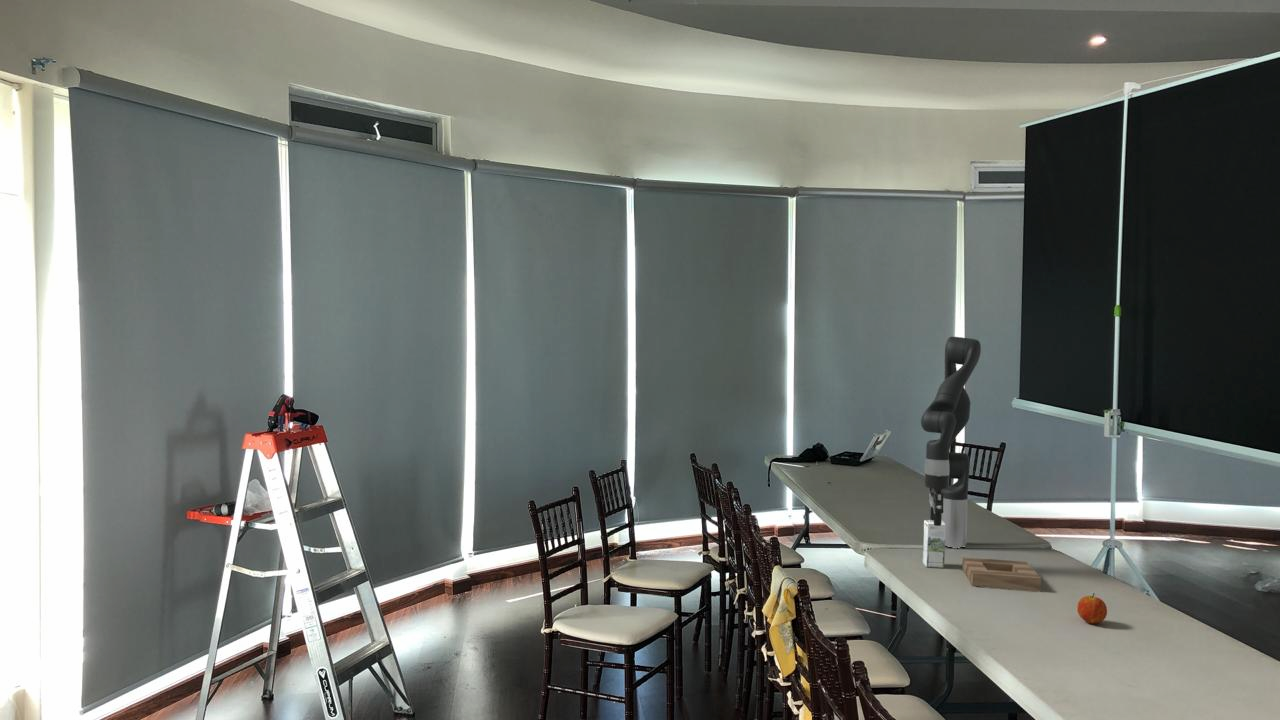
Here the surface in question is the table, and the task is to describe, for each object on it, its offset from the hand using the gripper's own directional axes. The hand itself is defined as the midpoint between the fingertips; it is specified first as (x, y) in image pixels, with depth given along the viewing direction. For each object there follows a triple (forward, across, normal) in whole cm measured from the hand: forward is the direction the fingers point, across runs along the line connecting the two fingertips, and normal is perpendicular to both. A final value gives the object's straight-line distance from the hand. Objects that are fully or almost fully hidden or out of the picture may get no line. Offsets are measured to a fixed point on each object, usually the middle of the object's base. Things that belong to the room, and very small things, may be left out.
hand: (935, 522), depth 283 cm
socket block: (+14, +12, +18) cm, 26 cm away
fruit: (+15, +48, +33) cm, 60 cm away
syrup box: (+14, 0, 0) cm, 14 cm away
